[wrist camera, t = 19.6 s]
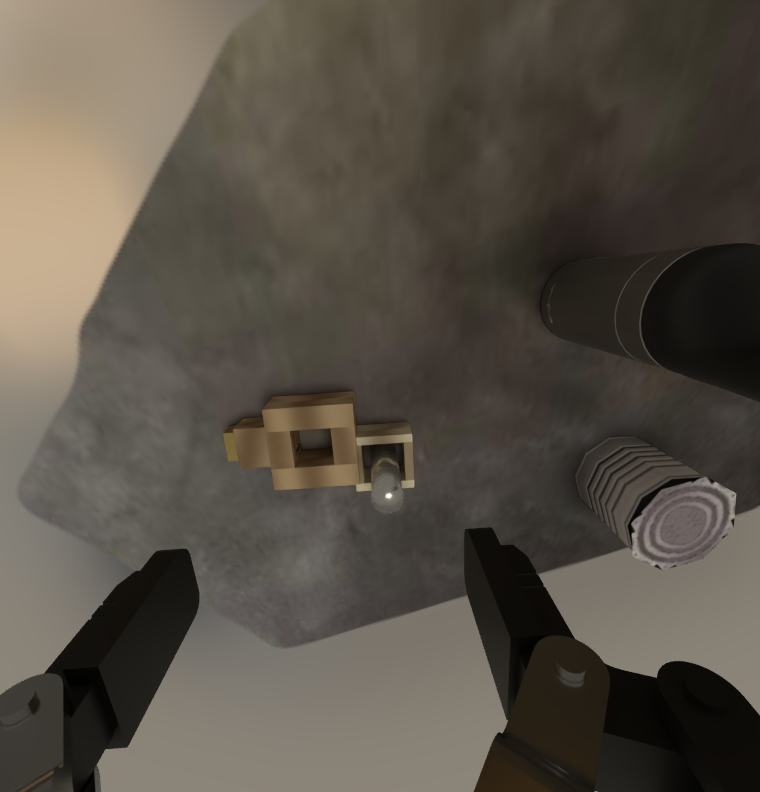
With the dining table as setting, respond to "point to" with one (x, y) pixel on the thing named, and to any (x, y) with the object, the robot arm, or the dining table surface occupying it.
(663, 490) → the can
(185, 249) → the dining table surface
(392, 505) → the rod
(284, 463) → the socket block
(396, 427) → the frame
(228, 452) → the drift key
